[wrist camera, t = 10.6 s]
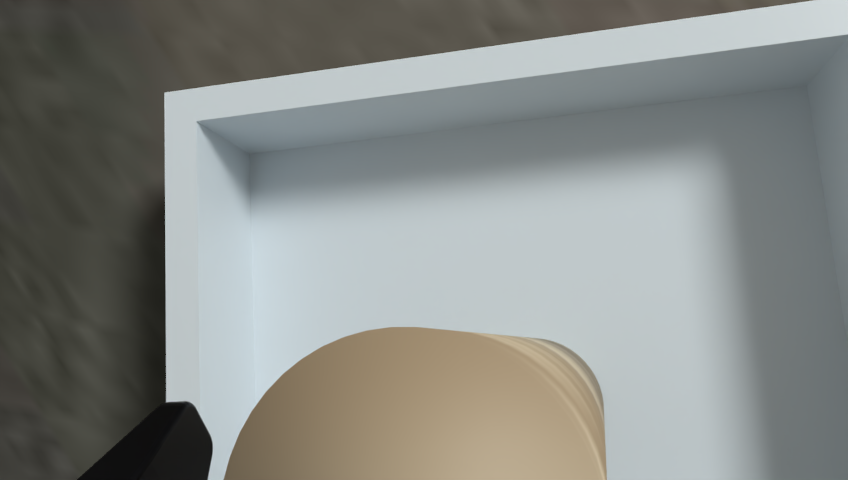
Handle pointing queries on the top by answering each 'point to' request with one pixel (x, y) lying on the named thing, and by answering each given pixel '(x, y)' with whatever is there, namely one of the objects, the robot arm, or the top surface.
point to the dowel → (428, 412)
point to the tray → (541, 228)
